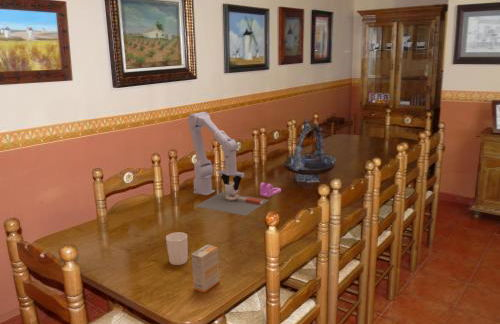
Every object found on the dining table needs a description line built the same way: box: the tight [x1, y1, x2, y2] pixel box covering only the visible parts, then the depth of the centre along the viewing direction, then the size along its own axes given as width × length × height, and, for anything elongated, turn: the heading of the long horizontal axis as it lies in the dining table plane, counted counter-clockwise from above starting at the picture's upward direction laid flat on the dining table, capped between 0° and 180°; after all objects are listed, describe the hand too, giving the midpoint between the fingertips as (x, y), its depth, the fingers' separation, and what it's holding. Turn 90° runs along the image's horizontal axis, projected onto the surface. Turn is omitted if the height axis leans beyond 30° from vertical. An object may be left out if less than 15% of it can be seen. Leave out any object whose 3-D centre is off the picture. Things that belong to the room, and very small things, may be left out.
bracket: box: [259, 182, 282, 198], centre depth 241 cm, size 13×6×7 cm, turn 141°
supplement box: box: [190, 244, 220, 293], centre depth 149 cm, size 8×5×13 cm, turn 145°
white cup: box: [165, 231, 189, 266], centre depth 168 cm, size 8×8×10 cm
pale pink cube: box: [224, 180, 239, 195], centre depth 232 cm, size 5×5×5 cm
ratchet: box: [226, 193, 264, 206], centre depth 229 cm, size 21×7×5 cm, turn 60°
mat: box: [194, 191, 270, 216], centre depth 228 cm, size 30×24×1 cm
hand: (232, 189), depth 232 cm, fingers closed on pale pink cube, 5 cm apart
